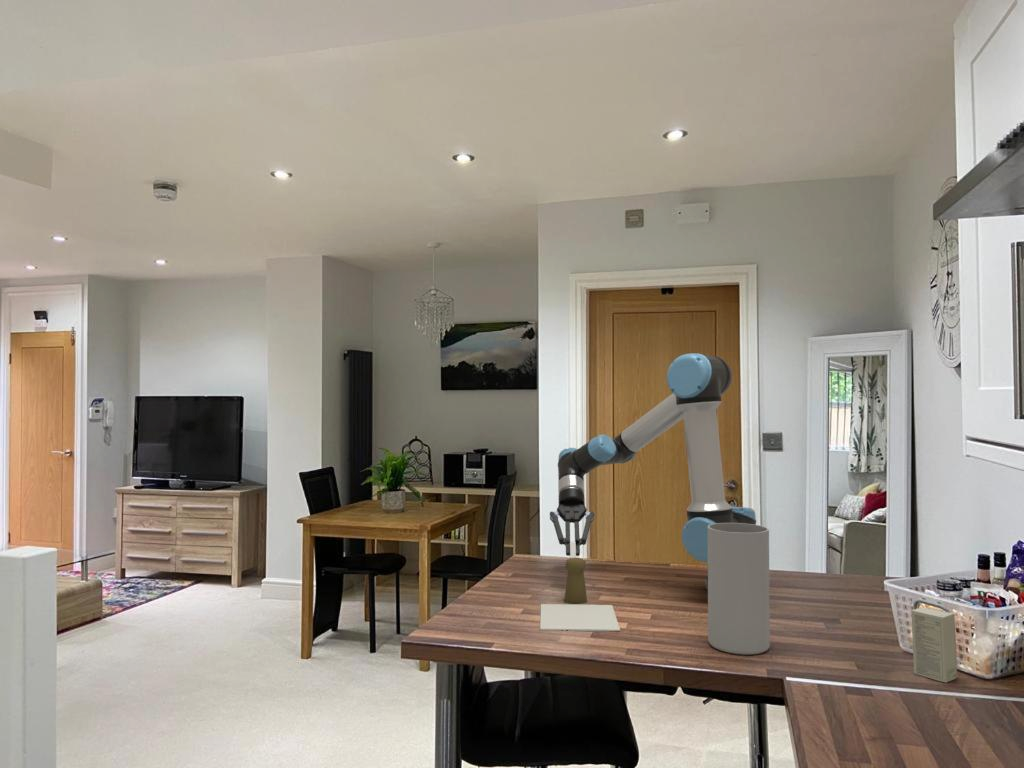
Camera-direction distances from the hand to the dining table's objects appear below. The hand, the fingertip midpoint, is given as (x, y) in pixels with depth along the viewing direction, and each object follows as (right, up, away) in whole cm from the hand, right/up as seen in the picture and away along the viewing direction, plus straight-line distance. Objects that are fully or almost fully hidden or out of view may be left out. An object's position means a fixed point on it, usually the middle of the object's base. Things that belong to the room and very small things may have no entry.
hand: (573, 565), depth 196 cm
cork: (0, -8, -6) cm, 10 cm away
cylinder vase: (+32, -7, -41) cm, 52 cm away
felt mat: (-1, -7, -21) cm, 22 cm away
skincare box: (+64, -7, -58) cm, 86 cm away
